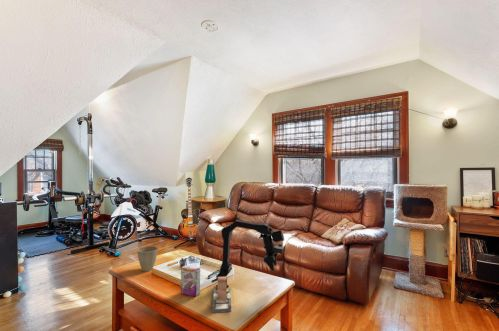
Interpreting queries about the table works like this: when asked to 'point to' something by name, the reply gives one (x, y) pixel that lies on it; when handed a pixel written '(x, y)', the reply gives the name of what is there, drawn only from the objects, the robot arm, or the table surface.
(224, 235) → the robot arm
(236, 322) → the table surface
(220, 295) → the salmon pink rectangular block
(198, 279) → the candy bar box
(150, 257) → the plant pot
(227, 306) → the track
